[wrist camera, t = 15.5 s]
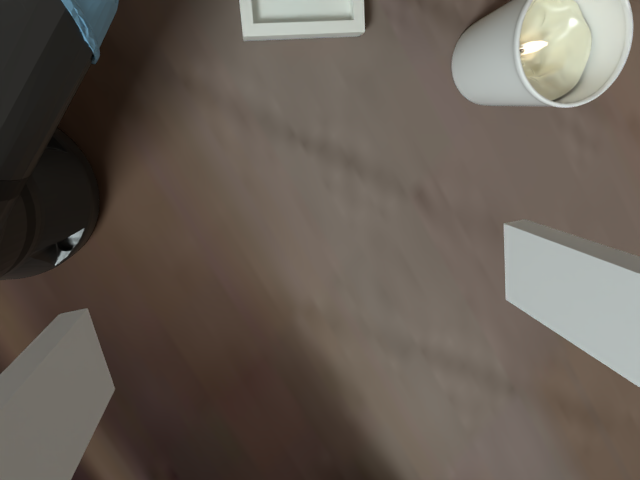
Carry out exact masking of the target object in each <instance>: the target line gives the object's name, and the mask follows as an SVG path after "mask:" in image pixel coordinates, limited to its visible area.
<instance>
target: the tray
mask: <svg viewBox="0 0 640 480" xmlns="http://www.w3.org/2000/svg"><path fill="white" fill-rule="evenodd" d="M239 5H240V14H241V24H242V33H243V41H261V40H285V39H310V38H334V37H358V36H361V35H362V34H363V33H364V32H365V18H364V0H239Z"/></svg>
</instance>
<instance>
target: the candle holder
mask: <svg viewBox="0 0 640 480" xmlns="http://www.w3.org/2000/svg"><path fill="white" fill-rule="evenodd" d="M632 38H633V15H632V9H631V5H630V2H629V0H511V1H510V2H508V3H506V4H505V5H503V6H501V7H500V8H498V9H496V10H495V11H493V12H491V13H490V14H488V15H486V16H485V17H483V18H482V19H480V20H478V21H477V22H475V23H474V24H472V25H471V26H470V27H469V28H468V29H467V30H466V31H465V32H464V33H463V34H462V35H461V37H460V38H459V40H458V42H457V44H456V46H455V49H454V52H453V56H452V75H453V79H454V82H455V84H456V86H457V88H458V90H459V91H460V93H461V94H462V95H463V96H464V97H465V98H466V99H468V100H469V101H471V102H473V103H476V104H479V105H485V106H545V107H560V108H569V107H576V106H580V105H583V104H585V103H588V102H590V101H592V100H594V99H595V98H597V97H598V96H600V95H601V94H602V93H603V92H605V91H606V90H607V89H608V88H609V87H610V86H611V85H612V83H613V82H614V81H615V80H616V78H617V77H618V75H619V74H620V72H621V70H622V69H623V67H624V65H625V63H626V60H627V58H628V55H629V52H630V48H631V44H632Z"/></svg>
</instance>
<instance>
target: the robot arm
mask: <svg viewBox="0 0 640 480" xmlns="http://www.w3.org/2000/svg"><path fill="white" fill-rule="evenodd" d="M118 3H119V0H0V280H7V279H20V278H26V277H31V276H35V275H38V274H41V273H44V272H46V271H49V270H51V269H53V268H55V267H57V266H58V265H60V264H61V263H63V262H64V261H66V260H67V259H69V258H70V257H71V256H73V255H74V254H75V253H76V252H77V251H79V250H80V249H81V247H82V246H83V245H84V244H85V243H86V242H87V240H88V239H89V237H90V235H91V234H92V232H93V230H94V227H95V225H96V222H97V218H98V213H99V190H98V185H97V181H96V178H95V175H94V172H93V170H92V168H91V166H90V164H89V162H88V160H87V158H86V157H85V155H84V154H83V153H82V151H81V150H80V149H79V147H78V146H77V145H76V144H75V143H74V142H73V141H72V140H71V139H70V138H69V137H68V136H67V135H66V134H65V133H63V132H62V131H61V130H59V129H58V128H57V126H58V124H59V123H60V121H61V119H62V117H63V115H64V113H65V111H66V110H67V108H68V106H69V104H70V102H71V100H72V98H73V97H74V95H75V93H76V91H77V89H78V87H79V85H80V84H81V82H82V80H83V78H84V76H85V74H86V73H87V71H88V69H89V67H90V65H91V64H96V62H97V61H98V59H99V56H100V50H99V48H100V45H101V43H102V41H103V39H104V37H105V35H106V33H107V31H108V29H109V27H110V24H111V22H112V20H113V18H114V16H115V14H116V11H117V8H118ZM504 251H505V290H506V300H507V301H509V302H510V303H512V304H513V305H515V306H516V307H518V308H520V309H521V310H523V311H524V312H526V313H527V314H529V315H530V316H532V317H533V318H535V319H536V320H538V321H539V322H541V323H542V324H544V325H545V326H547V327H548V328H550V329H552V330H553V331H555V332H556V333H558V334H559V335H561V336H562V337H564V338H565V339H567V340H568V341H570V342H571V343H573V344H574V345H576V346H577V347H579V348H580V349H582V350H584V351H585V352H587V353H588V354H590V355H591V356H593V357H594V358H596V359H597V360H599V361H600V362H602V363H603V364H605V365H606V366H608V367H609V368H611V369H612V370H614V371H616V372H617V373H619V374H620V375H622V376H623V377H625V378H626V379H628V380H629V381H631V382H632V383H634V384H635V385H637V386H638V387H640V257H639V256H636V255H633V254H630V253H627V252H624V251H621V250H618V249H614V248H611V247H608V246H605V245H602V244H599V243H596V242H593V241H590V240H587V239H584V238H581V237H578V236H575V235H572V234H569V233H566V232H563V231H559V230H556V229H553V228H550V227H547V226H544V225H541V224H538V223H535V222H532V221H529V220H526V219H524V220H519V221H514V222H509V223H504ZM114 390H115V388H114V385H113V382H112V379H111V376H110V373H109V370H108V367H107V364H106V361H105V358H104V355H103V353H102V350H101V347H100V344H99V341H98V338H97V335H96V332H95V329H94V326H93V323H92V320H91V317H90V314H89V311H88V309H82V310H77V311H72V312H67V313H62V314H59V315H58V316H57V317H56V318H55V319H54V320H53V321H52V322H51V323H50V324H49V325H48V326H47V327H46V328H45V329H44V330H43V331H42V332H41V333H40V334H39V336H38V337H37V338H36V339H35V340H34V341H33V342H32V343H31V344H30V345H29V346H28V347H27V348H26V349H25V350H24V351H23V352H22V353H21V354H20V355H19V356H18V357H17V358H16V359H15V360H14V361H13V362H12V363H11V364H10V365H9V366H8V367H7V368H6V369H5V370H4V371H3V372H2V373H1V374H0V480H71V478H72V476H73V474H74V472H75V470H76V468H77V466H78V464H79V462H80V460H81V458H82V456H83V454H84V452H85V450H86V448H87V445H88V443H89V441H90V439H91V437H92V435H93V433H94V431H95V429H96V427H97V425H98V423H99V421H100V419H101V417H102V415H103V413H104V411H105V408H106V406H107V404H108V402H109V400H110V398H111V396H112V394H113V392H114Z"/></svg>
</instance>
